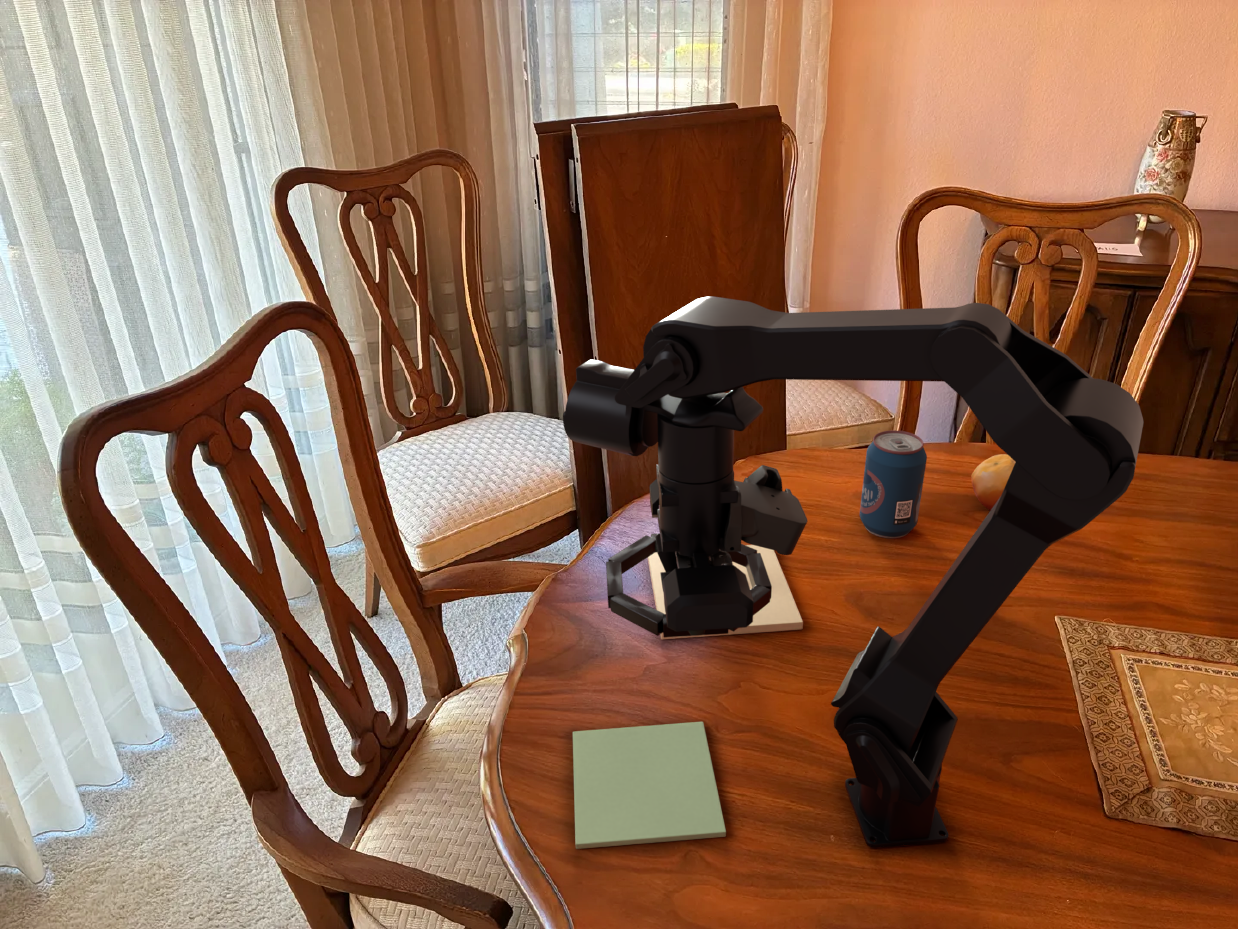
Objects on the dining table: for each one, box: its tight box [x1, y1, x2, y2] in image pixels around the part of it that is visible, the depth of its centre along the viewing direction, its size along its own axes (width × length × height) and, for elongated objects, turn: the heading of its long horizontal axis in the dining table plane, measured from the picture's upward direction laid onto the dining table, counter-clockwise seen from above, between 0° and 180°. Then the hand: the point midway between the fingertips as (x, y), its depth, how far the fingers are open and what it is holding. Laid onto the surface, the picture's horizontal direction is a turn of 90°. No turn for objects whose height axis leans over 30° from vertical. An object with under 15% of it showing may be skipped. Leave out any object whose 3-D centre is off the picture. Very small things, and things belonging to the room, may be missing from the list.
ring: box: [605, 532, 772, 637], centre depth 79 cm, size 15×15×1 cm
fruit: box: [970, 453, 1015, 512], centre depth 109 cm, size 8×8×8 cm
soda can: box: [859, 429, 928, 539], centre depth 104 cm, size 7×7×12 cm
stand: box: [647, 544, 804, 640], centre depth 95 cm, size 15×15×7 cm
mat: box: [572, 721, 727, 850], centre depth 73 cm, size 12×12×1 cm
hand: (695, 627), depth 73 cm, fingers closed on ring, 1 cm apart
